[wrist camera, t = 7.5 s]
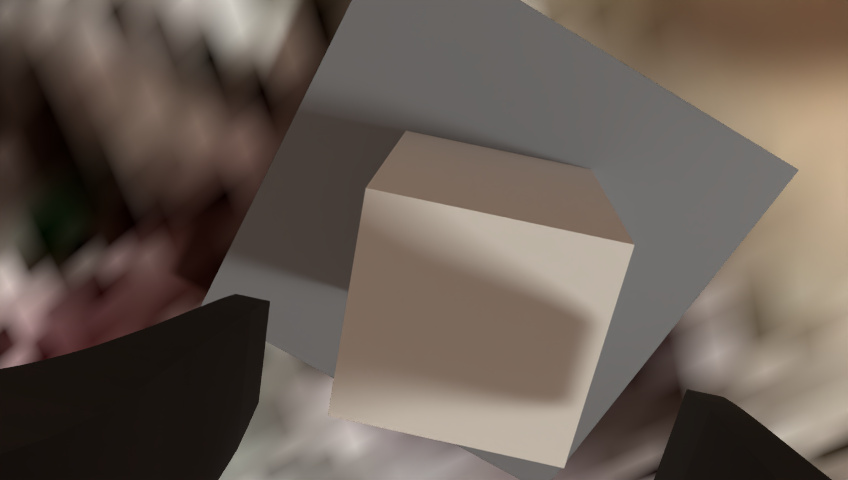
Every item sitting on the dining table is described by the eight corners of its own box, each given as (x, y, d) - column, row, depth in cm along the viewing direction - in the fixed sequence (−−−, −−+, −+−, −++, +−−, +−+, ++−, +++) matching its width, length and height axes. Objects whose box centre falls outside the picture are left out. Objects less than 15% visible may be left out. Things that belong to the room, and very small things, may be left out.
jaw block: (591, 169, 18) (634, 244, 12) (544, 335, 20) (563, 468, 14) (406, 130, 18) (365, 187, 13) (375, 298, 20) (327, 415, 14)
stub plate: (776, 157, 19) (868, 208, 14) (539, 461, 23) (550, 579, 18) (398, -73, 18) (364, -100, 13) (220, 286, 22) (144, 363, 17)
